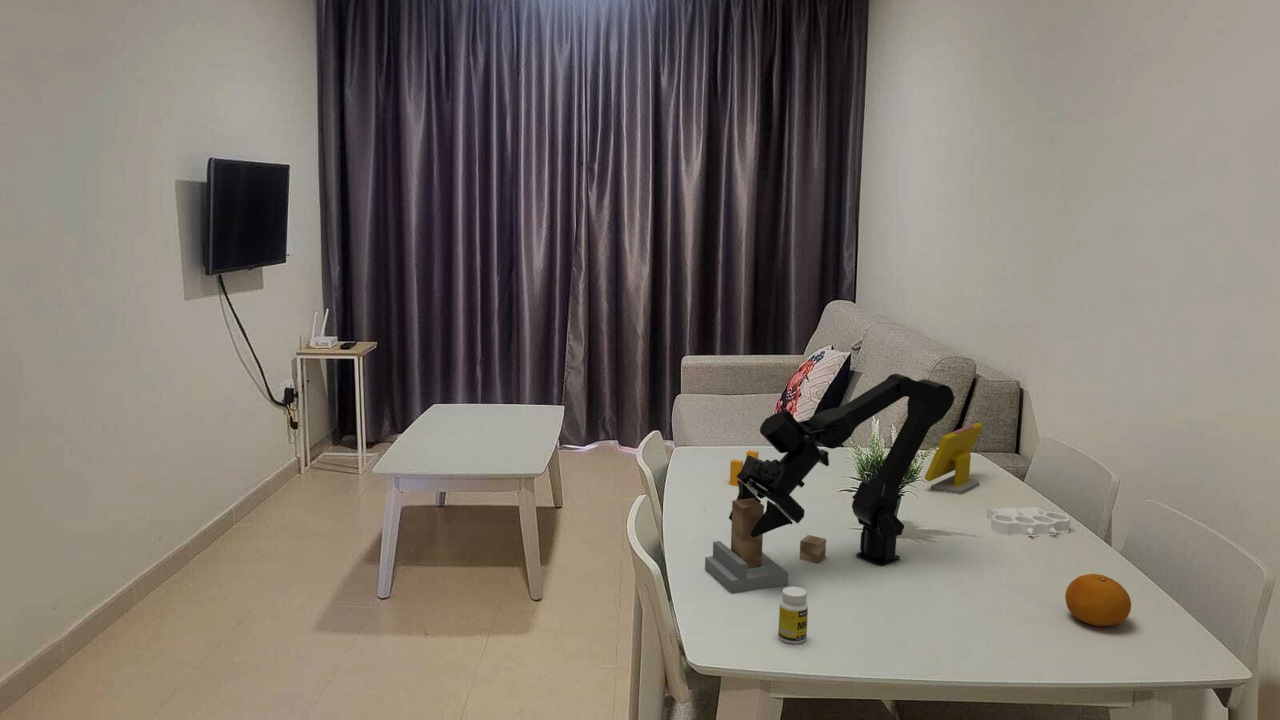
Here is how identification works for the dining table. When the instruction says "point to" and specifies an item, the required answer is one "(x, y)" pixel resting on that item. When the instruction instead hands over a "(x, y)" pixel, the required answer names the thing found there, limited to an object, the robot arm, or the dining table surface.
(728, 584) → the base slab
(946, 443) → the yellow framed monitor
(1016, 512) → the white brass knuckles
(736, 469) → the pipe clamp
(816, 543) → the oak block
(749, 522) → the walnut pillar
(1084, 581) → the fruit
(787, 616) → the supplement bottle
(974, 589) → the dining table surface
